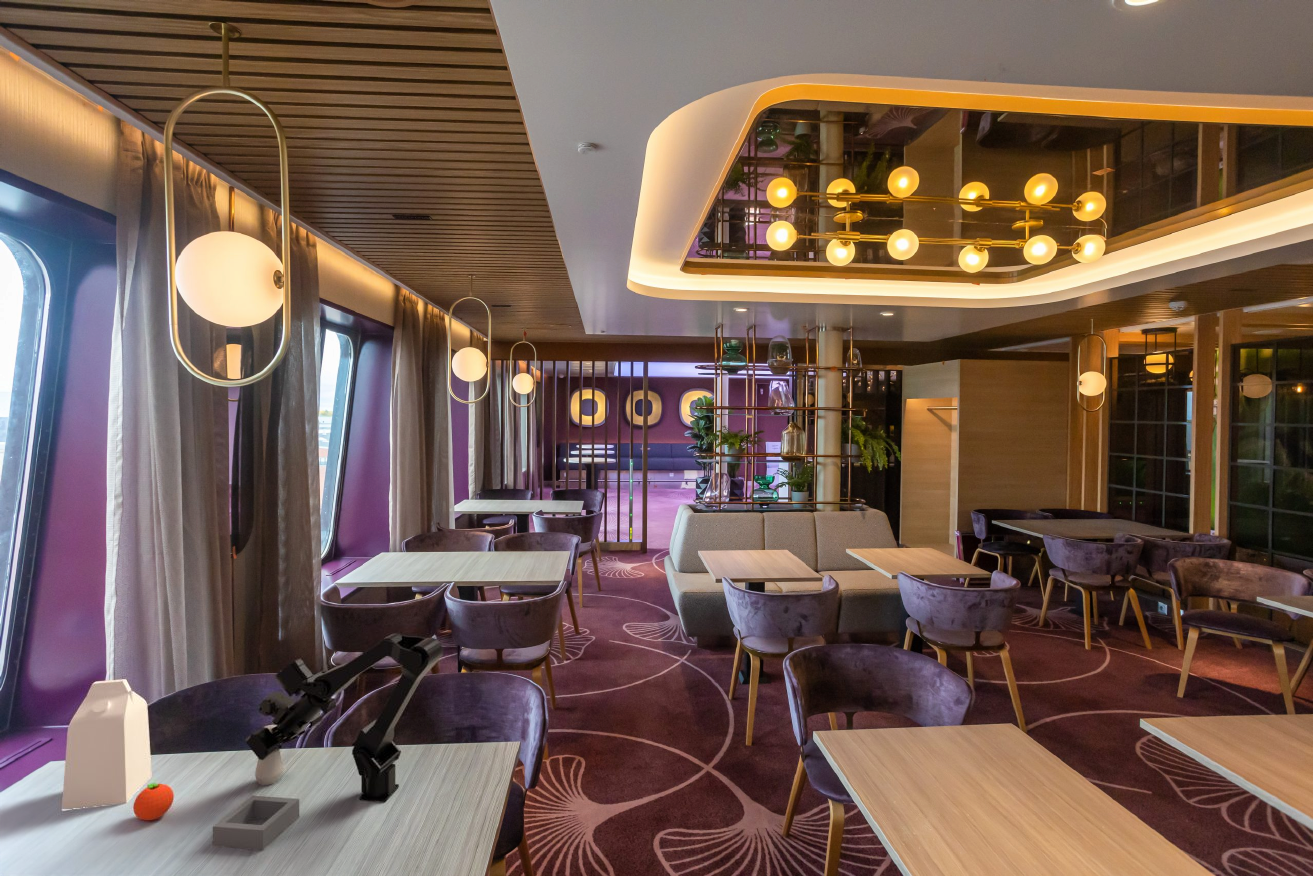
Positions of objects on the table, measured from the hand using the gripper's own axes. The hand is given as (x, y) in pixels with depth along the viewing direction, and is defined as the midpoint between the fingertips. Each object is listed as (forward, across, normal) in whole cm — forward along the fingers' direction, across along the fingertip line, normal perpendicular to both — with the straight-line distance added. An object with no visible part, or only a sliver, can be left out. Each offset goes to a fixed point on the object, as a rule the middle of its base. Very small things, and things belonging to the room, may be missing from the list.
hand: (264, 751), depth 152 cm
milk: (+27, +11, -17) cm, 34 cm away
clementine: (+14, +17, -4) cm, 22 cm away
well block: (-5, +17, +15) cm, 23 cm away
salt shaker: (+4, 0, +6) cm, 7 cm away
